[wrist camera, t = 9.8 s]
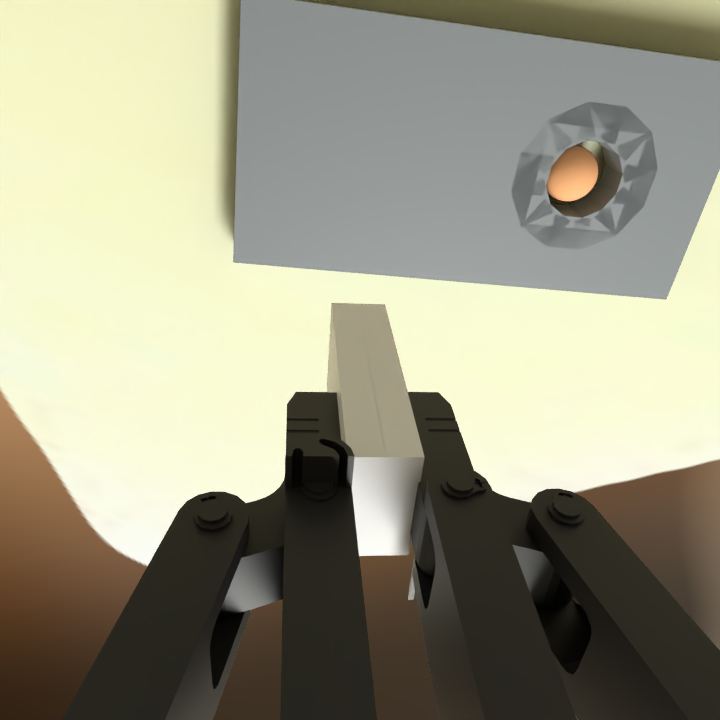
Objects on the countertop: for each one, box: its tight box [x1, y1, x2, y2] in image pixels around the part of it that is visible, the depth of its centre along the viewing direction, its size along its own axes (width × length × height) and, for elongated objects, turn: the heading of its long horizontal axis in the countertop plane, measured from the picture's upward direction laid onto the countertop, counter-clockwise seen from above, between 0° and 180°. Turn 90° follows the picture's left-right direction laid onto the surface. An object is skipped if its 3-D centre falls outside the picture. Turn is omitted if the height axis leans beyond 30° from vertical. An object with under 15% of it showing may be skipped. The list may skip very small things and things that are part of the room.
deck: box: [233, 0, 720, 299], centre depth 37 cm, size 28×14×2 cm, turn 83°
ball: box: [546, 145, 598, 201], centre depth 38 cm, size 3×3×3 cm
